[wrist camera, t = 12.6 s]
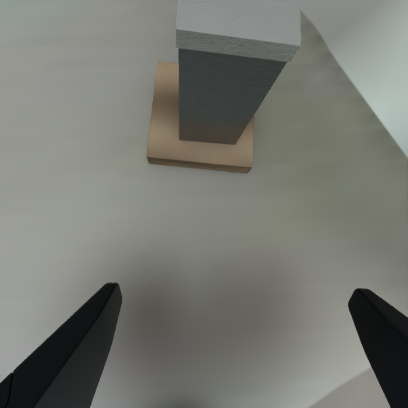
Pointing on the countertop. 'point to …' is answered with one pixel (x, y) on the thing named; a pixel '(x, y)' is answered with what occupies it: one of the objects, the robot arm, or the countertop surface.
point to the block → (189, 150)
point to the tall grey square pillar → (230, 62)
